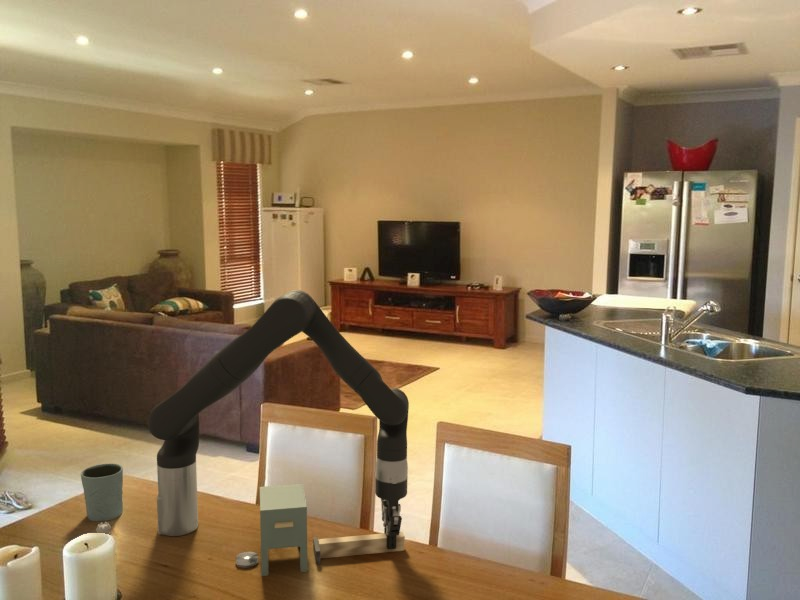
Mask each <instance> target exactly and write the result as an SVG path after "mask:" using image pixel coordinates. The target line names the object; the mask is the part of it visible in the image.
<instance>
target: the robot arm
mask: <svg viewBox="0 0 800 600" xmlns="http://www.w3.org/2000/svg"><path fill="white" fill-rule="evenodd" d="M300 333H303V334H304V335H306V336H307V337H308V338H309V339H311V340H312V341H313V342H314V343H315V344H316V346H317V347H318V348H319V349H320V351H321V352H322V353H323V355H324V356H325V358H326V360H327V361H328V363H329V365H330V366H331V368H332V370H333V371H334V372H335V373H336V375H338V377H339V378H340V379H341V380H342V381H343V382H344V383H345V384H346V385H347V386H348V387H349V388H351V390H353V392H355V393H356V394H357V395H359V397H360V398H361V400H362V401H363V402H364V405H366V406H367V408H368V409H369V410H370V411H371V412H372V414H373V415H374V416H375V417H376V418H377V419H378V421H379V422H378V423H379V427H378V428H379V429H378V430H379V432H378V435H377V441H376V461H375V475H374V476H375V478H374V479H375V481H374V482H375V484H374V487H375V489H374V493H375V496H376V497H377V498H379V499H380V505H381V507H380V508H381V520H382V522H383V524H382V525H383V528H384V529H383V533H387V545H386V547H387V549H395V548H396V535H399V533H400V532H401V525H402V520H403V518H402V515H401V510H402V509H401V507H402V506H401V505H402V504H401V503H399V501H400V500H401V499H404V498H406V496H407V494H408V474H409V472H408V469H409V466H408V465H409V464H408V437H407V430H408V423H409V421H408V420H409V407H410V405H409V403H410V402H409V399H408V396H407V394H406V393H405V392H404V391H402V389H399V388H396V387H395V388H394V387H392V388H390V386H388V385H387V384H386V382H384V380H383V377H382V375H381V373H380V372H379V370H377V369H376V367H374V365H372V364H371V363H370V362H369V361H368V360H367V359H366V358H364V356H363V355H361V354H360V352H358V351H357V350H356V349H355V348H354V347H353V346H352V345H351V344H350V343H349V341H348V340H347V339H346V338H345V337H344V336H343V335H342V334H341V333H340V332H339V330H338V329H337V328H336V327H335V325H334V324H333V323H332V322H331V320H330V319H329V318H328V317H327V315H326V314H325V313H324V312H323V310H322V308H320V306H319V304H317V302H316V300H314V299H313V297H312V296H311V295H310V294H309V293H307V292H306V291H304V290H301V289H300V290H299V289H293V290H289V291H287V292H285V293H283V294H282V295H280V296H279V297H277V298H276V299H275V300H274V301H273V302H272V303H271V304H270V306H269V307H268V308H267V309H266V311H264V313H263V314H262V315H261V316H260V317H259V318H258V319H257V321H255V323H254V324H253V325H252V326H250V328H248V329H247V330H246V331H244V332H243V333H242V334H240V335H239V336H237V337H235V338H234V339H233V340H231V341H230V342H229V343H227V344H226V345H225V346H223V347H222V348H221V349H219V350H218V352H216V353H215V354H214V355H212V357H211V358H210V359H209V360H208V361H207V362H206V363H205V364H204V365H203V366H201V368H200V369H199V370H198V371H197V372H195V373H194V375H193V376H192V377H191V378H190V379H189V380H187V382H186V383H185V384H184V385H183V386H182V387H181V388H179V389H178V390H177V391H176V392H174V393H173V394H172V395H171V396H169V397H167V398H165V400H163V401H161V402H160V403H158V404H157V405H155V406H154V408H152V410H151V411H150V414H149V417H148V420H147V427H148V431H149V433H150V434H151V436H153V437H154V438H156V439H159V440H162V441H163V444H162V445H161V447H160V448H159V449H158V451H157V453H156V465H157V466H156V470H157V472H156V473H157V497H156V511H157V513H156V515H157V532H158V533H157V534H158V535H163V536H169V537H177V536H184V535H189V534H190V533H193V532H194V531H196V530H197V528H198V527H199V515H198V514H199V511H198V503H199V502H198V481H197V478H198V477H197V476H198V474H197V473H198V472H197V453H198V450H199V445H200V413H201V412H203V410H205V409H207V408H208V407H210V406H211V405H213V404H214V403H216V402H218V401H219V400H221V399H223V398H225V397H227V395H229V394H231V393H232V392H233V391H235V390H236V389H237V388H238V387H240V386H241V385H242V384H243V383H244V382H245V381H246V380H248V379H249V378H250V377H251V376H252V375H253V374H254V373H255V372H256V371H257V370H258V369H259V367H261V365H262V364H263V363H264V361H265V360H266V359H267V357H268V356H269V355H270V354H271V353H272V352H273V351H275V350H276V349H278V348H279V347H281V345H283V344H285V343H287V341H289V340H291V339H292V338H294V337H295V336H297V335H299V334H300Z"/></svg>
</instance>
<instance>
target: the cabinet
mask: <svg viewBox="0 0 800 600" xmlns="http://www.w3.org/2000/svg"><path fill="white" fill-rule="evenodd" d="M307 506H308V505H307V501H306V495H305V488H304V484H303V483H295V484H293V483H292V484H282V485H280V484H279V485H268V486H267V485H266V486H260V487H259V510H260V513H259V518H260V519H259V520H260V521H259V522H260V565H261V566H260V567H261V570H260V571H261V572H260V573H261V576H262V577H263V576H264V577H266V576H269V550H276V549H287V548H299V563H300V564H299V565H300V566H299V567H300V569H299V570H300V572H301V573H304V572H305V573H306V572H308V570H309V569H308V507H307Z"/></svg>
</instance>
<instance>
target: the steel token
mask: <svg viewBox="0 0 800 600" xmlns="http://www.w3.org/2000/svg"><path fill="white" fill-rule="evenodd" d="M257 564H259V554H258V553H256V552H255V551H244V552H240V553H238V554H237V555H236V556H235V565H236V566H237V567H238V566H239V567H238V568H241V567H242V568H243V569H247V567H249V568H252V567H256V565H257ZM242 568H241V569H242Z"/></svg>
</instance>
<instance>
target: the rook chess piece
mask: <svg viewBox="0 0 800 600" xmlns="http://www.w3.org/2000/svg"><path fill="white" fill-rule="evenodd" d="M111 529H112V526H111V524H110V523H109V522H107V521H103V522H100V523H98V524H97V527H96V528H95V531H96V532H97V533H105V534H109V535H110V536H111V534H112V533H111V532H110V530H111Z"/></svg>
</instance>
